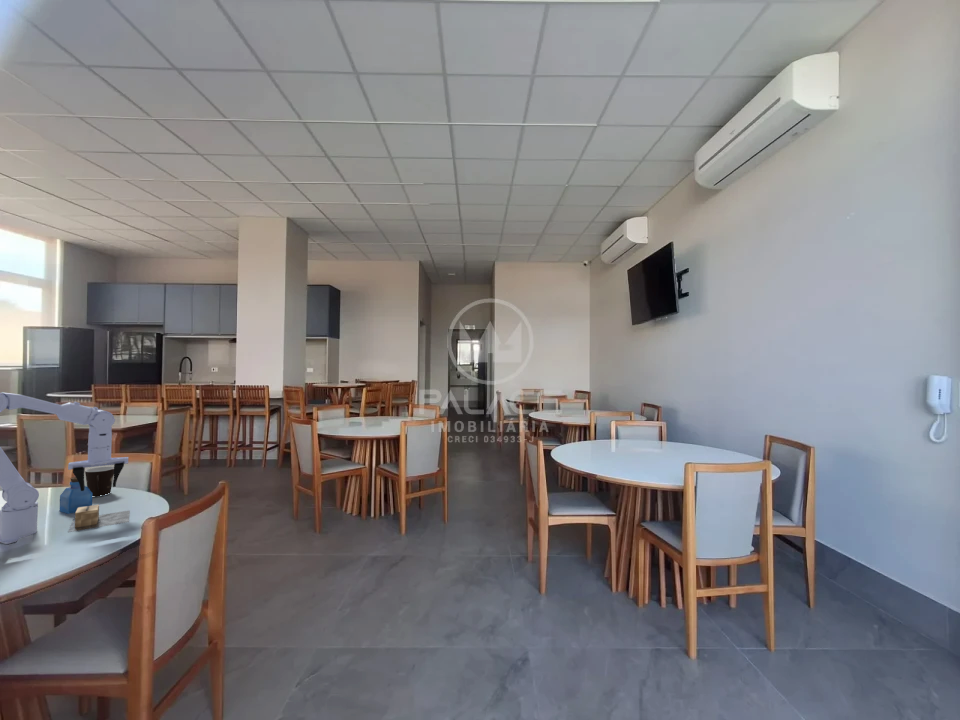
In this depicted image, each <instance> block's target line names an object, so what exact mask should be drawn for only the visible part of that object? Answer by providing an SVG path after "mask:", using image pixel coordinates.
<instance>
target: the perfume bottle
mask: <svg viewBox="0 0 960 720" xmlns="http://www.w3.org/2000/svg"><path fill="white" fill-rule="evenodd" d="M69 486H70V487H66V488H65V489H64V490H63V491H62V492H61V493H60V496H59V512H61V513H65V514H68V515H70V514H75V513H76V510H77V508H79V507H85V506H92V505H93V497H92V492H91V491H90V490H89V489H88V487H87V485H85V488H84V491H81V488H80V485H79V482H78V480H77V478H76V477H75V476H73V477H70V481H69Z"/></svg>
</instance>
